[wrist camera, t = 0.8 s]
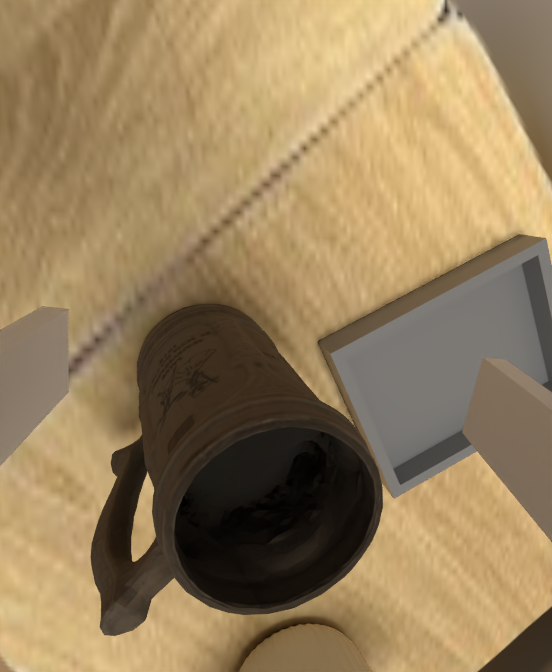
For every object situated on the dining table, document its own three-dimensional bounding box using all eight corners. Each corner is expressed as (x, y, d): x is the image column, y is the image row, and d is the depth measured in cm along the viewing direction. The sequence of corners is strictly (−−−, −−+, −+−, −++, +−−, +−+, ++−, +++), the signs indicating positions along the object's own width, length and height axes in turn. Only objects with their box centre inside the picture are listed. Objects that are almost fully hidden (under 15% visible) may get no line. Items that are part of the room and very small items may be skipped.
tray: (317, 341, 39) (330, 354, 37) (519, 234, 41) (546, 238, 38) (379, 479, 45) (394, 498, 43) (552, 381, 47) (577, 393, 44)
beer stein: (209, 266, 35) (272, 360, 17) (304, 353, 39) (438, 505, 21) (72, 413, 36) (-10, 655, 18) (179, 483, 40) (202, 739, 22)
